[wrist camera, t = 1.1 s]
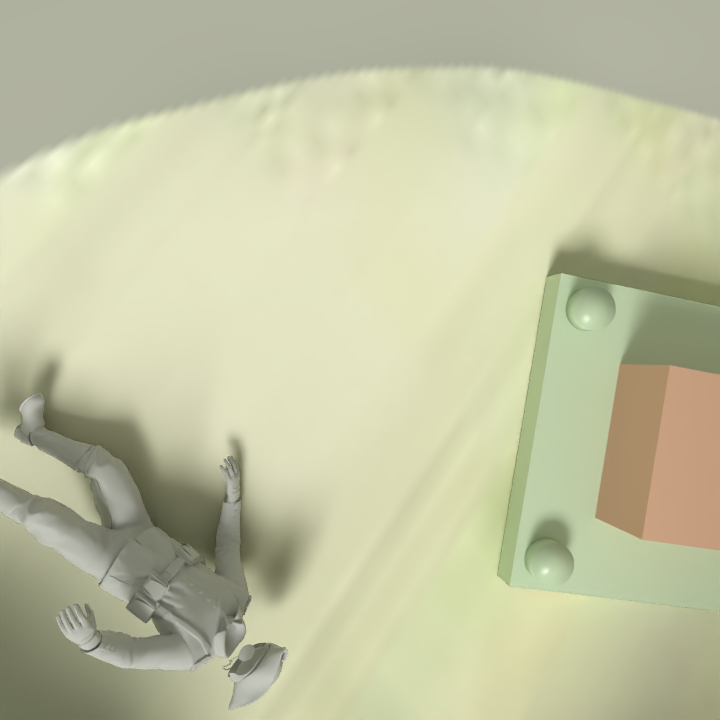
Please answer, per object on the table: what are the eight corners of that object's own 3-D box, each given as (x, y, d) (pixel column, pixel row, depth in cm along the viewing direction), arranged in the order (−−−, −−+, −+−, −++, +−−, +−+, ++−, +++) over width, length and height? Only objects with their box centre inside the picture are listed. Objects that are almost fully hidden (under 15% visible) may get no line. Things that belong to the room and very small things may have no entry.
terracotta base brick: (730, 537, 26) (793, 560, 23) (594, 517, 25) (642, 539, 22) (754, 389, 26) (819, 393, 23) (619, 364, 25) (669, 365, 22)
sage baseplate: (760, 607, 27) (800, 627, 25) (497, 575, 25) (518, 594, 23) (803, 330, 27) (846, 328, 25) (546, 277, 25) (571, 270, 23)
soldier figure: (103, 347, 24) (369, 539, 22) (92, 431, 27) (325, 607, 25) (-111, 466, 18) (228, 748, 16) (-96, 558, 21) (191, 806, 19)
